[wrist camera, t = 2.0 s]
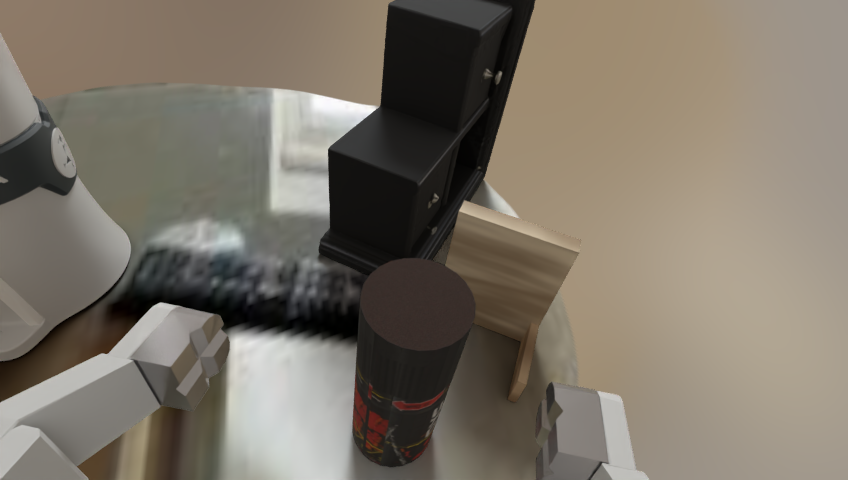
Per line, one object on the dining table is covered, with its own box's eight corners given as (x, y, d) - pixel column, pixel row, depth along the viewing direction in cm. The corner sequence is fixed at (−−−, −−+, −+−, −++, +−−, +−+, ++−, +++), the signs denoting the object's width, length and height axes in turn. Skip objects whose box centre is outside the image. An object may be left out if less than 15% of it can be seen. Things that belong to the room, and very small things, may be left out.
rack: (515, 402, 35) (570, 313, 27) (410, 359, 36) (432, 262, 28) (531, 332, 40) (581, 240, 32) (439, 296, 42) (464, 200, 33)
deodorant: (368, 378, 35) (381, 246, 24) (439, 400, 34) (483, 274, 24) (339, 452, 30) (341, 329, 20) (420, 478, 30) (465, 366, 19)
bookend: (411, 297, 41) (458, 46, 25) (315, 254, 44) (303, -1, 28) (485, 178, 58) (543, -19, 42) (413, 152, 60) (441, -45, 44)
